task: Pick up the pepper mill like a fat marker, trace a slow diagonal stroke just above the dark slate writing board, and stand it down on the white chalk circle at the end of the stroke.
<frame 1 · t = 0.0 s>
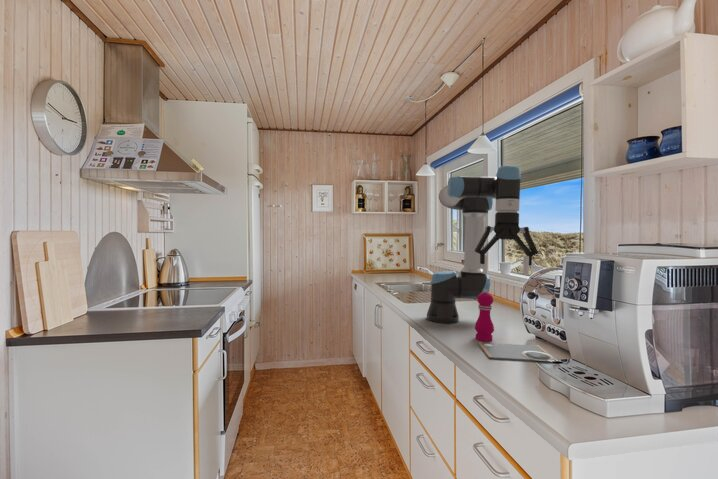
hand: (505, 274, 122), 28 cm above the counter, fingers open, 13 cm apart
pepper mill: (483, 339, 142), on the counter
slate: (515, 352, 126), on the counter
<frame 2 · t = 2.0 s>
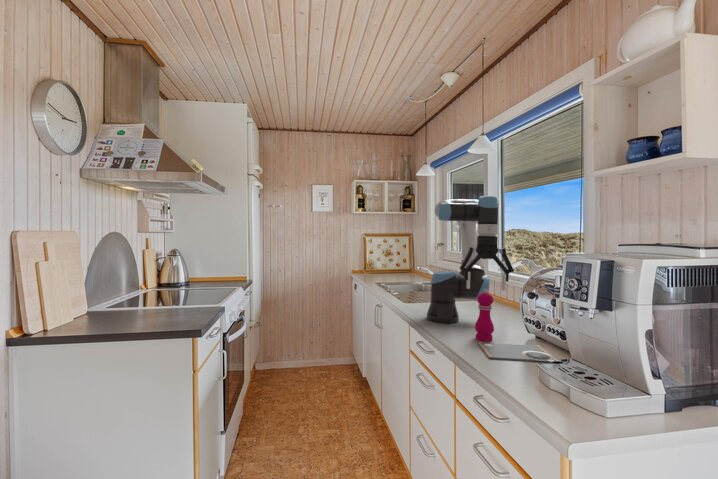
hand: (485, 289, 141), 20 cm above the counter, fingers open, 13 cm apart
nothing on the counter moved.
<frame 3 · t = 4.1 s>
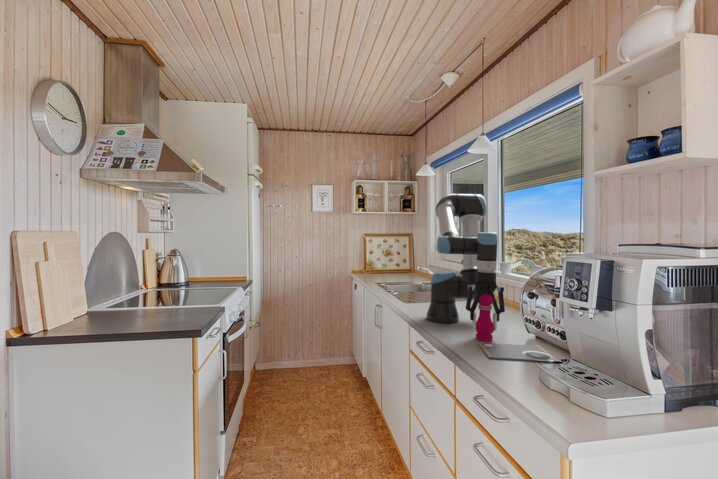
hand: (484, 328, 142), 4 cm above the counter, fingers closed on pepper mill, 7 cm apart
pepper mill: (484, 339, 142), on the counter, touching gripper
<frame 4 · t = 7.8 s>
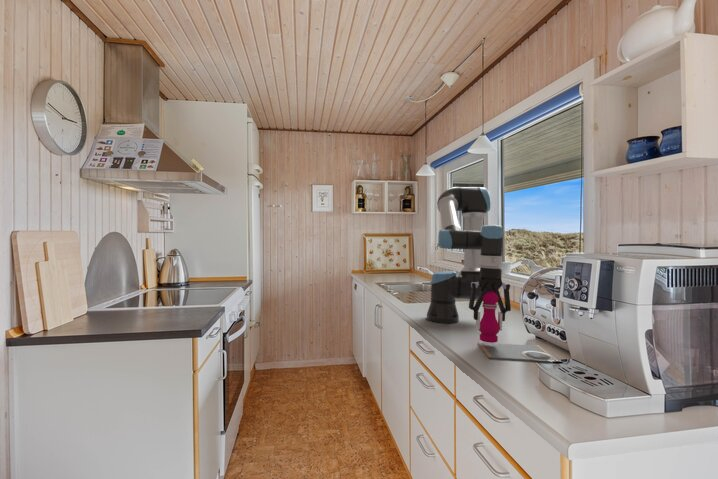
hand: (488, 329, 132), 7 cm above the counter, fingers closed on pepper mill, 7 cm apart
pepper mill: (488, 340, 132), point 2 cm above the counter, touching gripper
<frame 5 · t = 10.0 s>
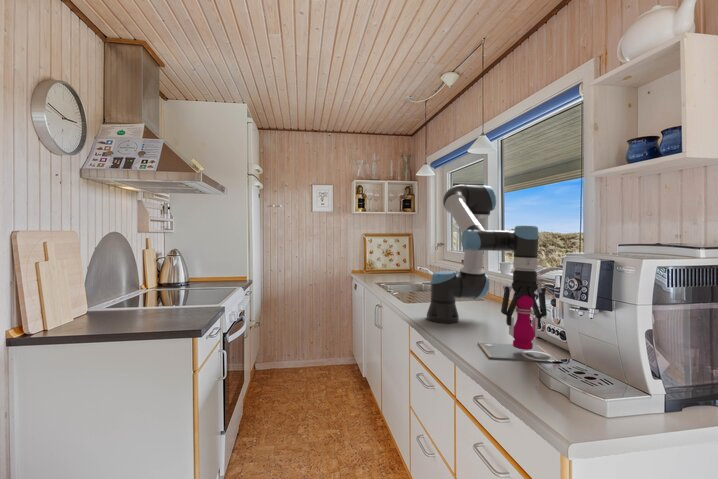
hand: (522, 335, 125), 7 cm above the counter, fingers closed on pepper mill, 7 cm apart
pepper mill: (522, 347, 125), point 2 cm above the counter, touching gripper
when the fingers open (5 cm above the counter, at t = 11.8 s): pepper mill stays where it is, resting on slate.
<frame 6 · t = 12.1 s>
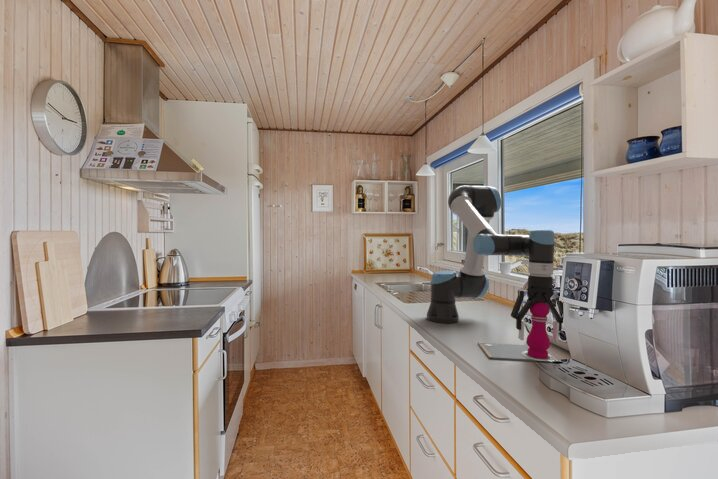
hand: (538, 340, 122), 6 cm above the counter, fingers open, 10 cm apart
pepper mill: (537, 356, 122), point 1 cm above the counter, touching slate
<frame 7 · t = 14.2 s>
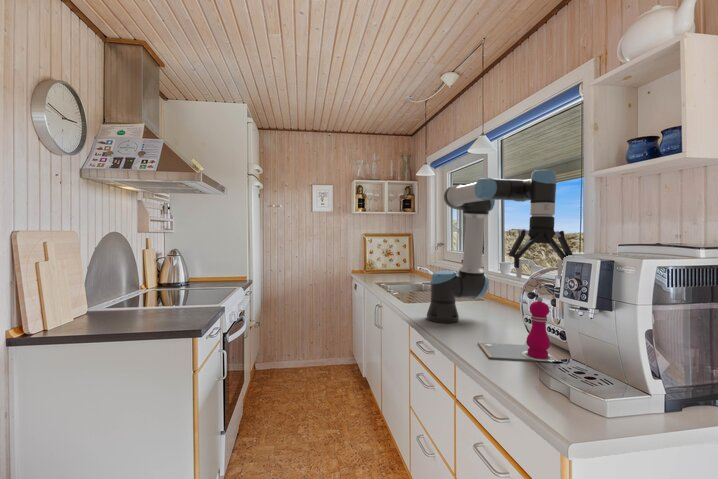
hand: (539, 278, 122), 27 cm above the counter, fingers open, 13 cm apart
nothing on the counter moved.
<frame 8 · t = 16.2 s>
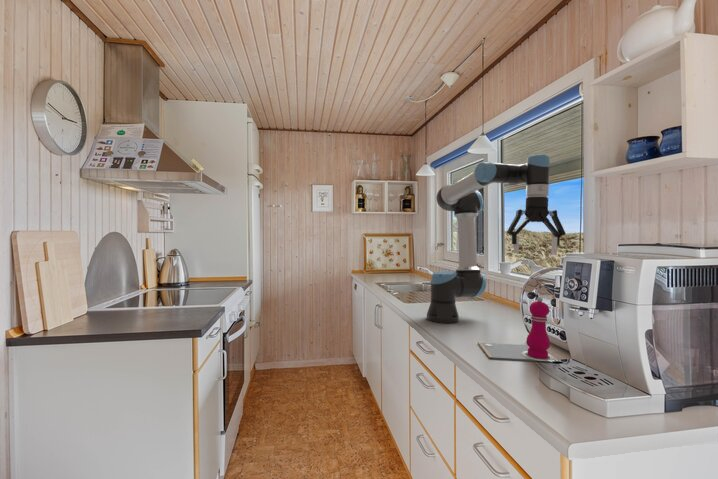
hand: (535, 254, 134), 35 cm above the counter, fingers open, 13 cm apart
nothing on the counter moved.
at the end: pepper mill inside the target area on the slate (0.0 cm from its centre), point 0.5 cm above the slate's base; pepper mill tilted 0°; the gripper is holding nothing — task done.
